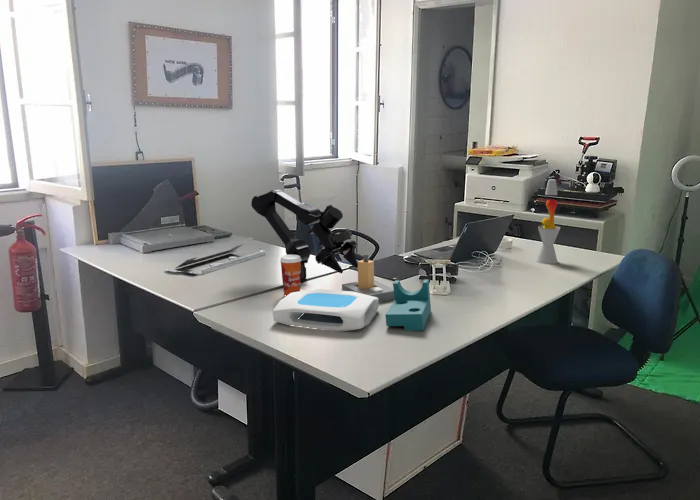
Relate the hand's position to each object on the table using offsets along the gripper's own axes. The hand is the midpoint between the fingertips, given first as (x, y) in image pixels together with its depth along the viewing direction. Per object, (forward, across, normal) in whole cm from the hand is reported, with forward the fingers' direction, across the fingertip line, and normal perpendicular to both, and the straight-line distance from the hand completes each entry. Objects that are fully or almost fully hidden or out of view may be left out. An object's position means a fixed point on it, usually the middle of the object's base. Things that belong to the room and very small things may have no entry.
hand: (349, 269), depth 206 cm
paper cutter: (-46, +2, +59) cm, 74 cm away
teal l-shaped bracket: (+29, -14, -18) cm, 37 cm away
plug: (+10, 0, 0) cm, 11 cm away
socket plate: (+12, -1, -1) cm, 12 cm away
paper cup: (-4, -15, +16) cm, 22 cm away
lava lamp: (+37, +81, -26) cm, 93 cm away
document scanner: (+14, -27, -2) cm, 30 cm away
